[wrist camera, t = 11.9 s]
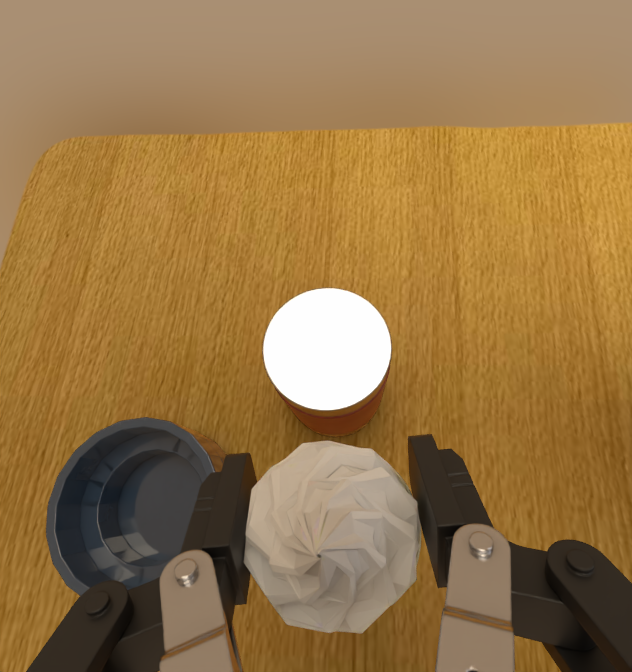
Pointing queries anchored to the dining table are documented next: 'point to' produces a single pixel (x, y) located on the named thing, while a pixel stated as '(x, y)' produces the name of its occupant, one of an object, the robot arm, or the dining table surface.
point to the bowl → (127, 501)
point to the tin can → (329, 359)
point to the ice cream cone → (332, 537)
